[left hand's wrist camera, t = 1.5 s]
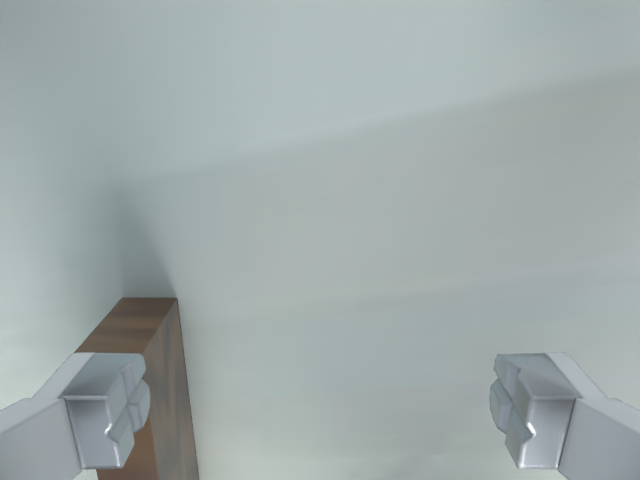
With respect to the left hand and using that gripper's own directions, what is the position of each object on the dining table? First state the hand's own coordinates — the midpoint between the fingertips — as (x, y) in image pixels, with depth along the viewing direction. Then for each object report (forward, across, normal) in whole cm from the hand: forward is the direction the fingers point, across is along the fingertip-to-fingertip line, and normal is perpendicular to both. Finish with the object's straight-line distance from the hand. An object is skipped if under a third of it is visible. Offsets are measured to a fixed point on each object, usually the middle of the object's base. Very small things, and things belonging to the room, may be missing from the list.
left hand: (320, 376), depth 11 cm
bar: (+28, -15, -24) cm, 40 cm away
